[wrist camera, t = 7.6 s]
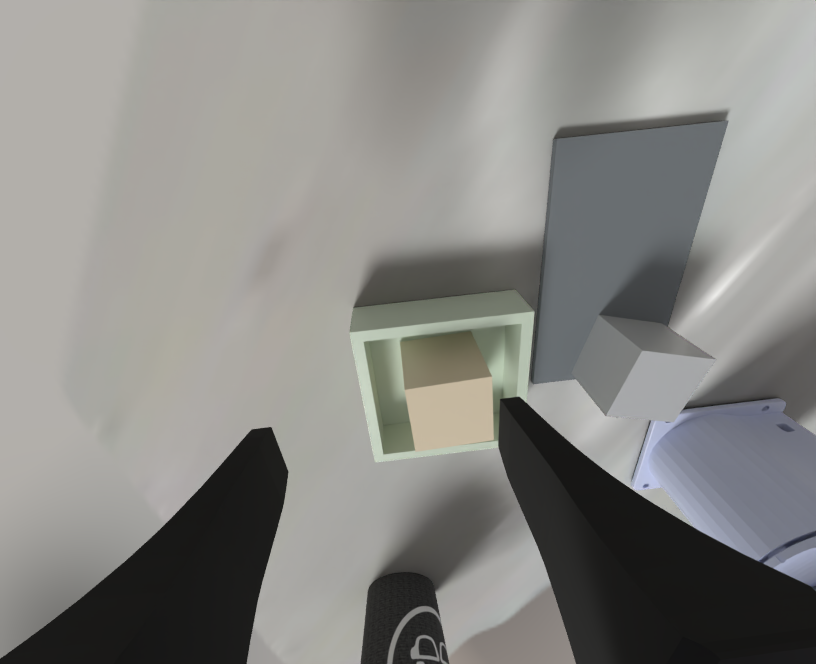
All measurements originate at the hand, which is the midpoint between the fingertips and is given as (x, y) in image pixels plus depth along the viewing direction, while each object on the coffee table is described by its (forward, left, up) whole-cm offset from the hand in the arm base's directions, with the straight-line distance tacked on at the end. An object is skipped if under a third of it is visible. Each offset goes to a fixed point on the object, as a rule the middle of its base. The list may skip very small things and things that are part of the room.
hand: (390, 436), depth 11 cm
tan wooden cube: (-3, +4, -10) cm, 11 cm away
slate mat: (-13, 0, -10) cm, 16 cm away
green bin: (-3, +5, -10) cm, 11 cm away
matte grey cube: (-14, +5, -10) cm, 17 cm away
